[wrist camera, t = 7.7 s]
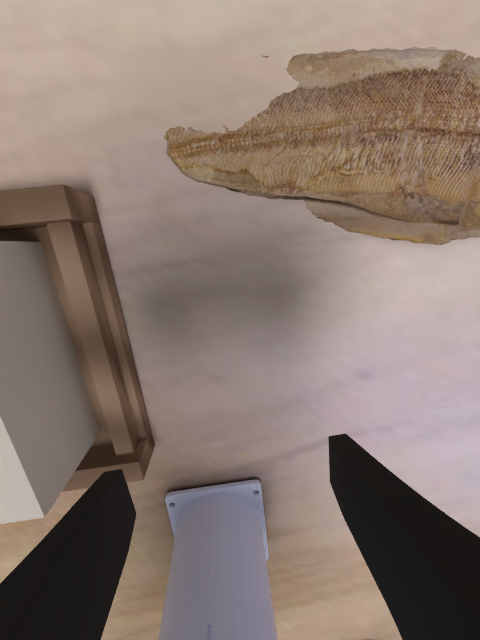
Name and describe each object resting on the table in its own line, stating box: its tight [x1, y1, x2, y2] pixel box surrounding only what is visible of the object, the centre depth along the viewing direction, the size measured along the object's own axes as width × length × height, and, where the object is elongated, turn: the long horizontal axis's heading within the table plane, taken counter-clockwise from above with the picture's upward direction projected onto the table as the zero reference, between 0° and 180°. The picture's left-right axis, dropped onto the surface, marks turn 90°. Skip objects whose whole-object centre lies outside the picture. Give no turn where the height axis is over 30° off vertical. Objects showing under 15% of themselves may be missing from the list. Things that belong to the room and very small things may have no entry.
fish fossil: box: [164, 47, 480, 245], centre depth 15 cm, size 26×10×1 cm, turn 91°
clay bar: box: [0, 241, 101, 524], centre depth 13 cm, size 13×4×6 cm, turn 6°
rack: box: [0, 185, 155, 492], centre depth 16 cm, size 18×10×3 cm, turn 6°
